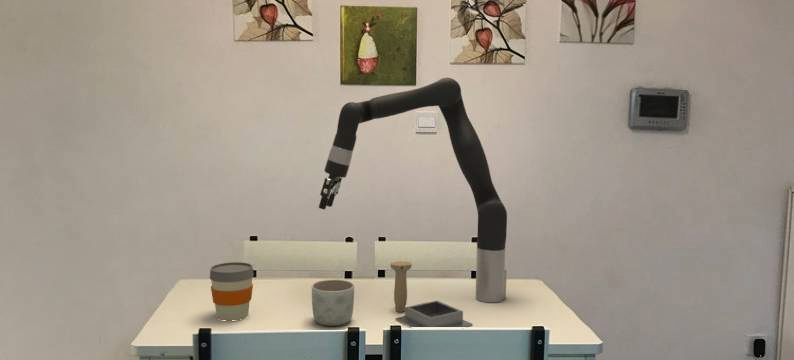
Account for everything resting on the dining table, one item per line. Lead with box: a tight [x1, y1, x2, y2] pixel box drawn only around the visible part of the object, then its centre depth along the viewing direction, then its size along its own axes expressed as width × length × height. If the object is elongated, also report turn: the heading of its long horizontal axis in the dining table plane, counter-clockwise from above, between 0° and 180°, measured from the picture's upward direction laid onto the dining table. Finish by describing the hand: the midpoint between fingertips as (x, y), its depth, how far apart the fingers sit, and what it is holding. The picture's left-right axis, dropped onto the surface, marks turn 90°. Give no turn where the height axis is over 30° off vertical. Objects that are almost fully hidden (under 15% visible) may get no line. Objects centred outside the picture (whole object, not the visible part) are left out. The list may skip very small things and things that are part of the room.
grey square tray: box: [395, 300, 473, 328], centre depth 171 cm, size 16×16×4 cm
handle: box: [390, 261, 412, 313], centre depth 181 cm, size 5×6×15 cm
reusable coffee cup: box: [209, 261, 254, 322], centre depth 174 cm, size 13×13×15 cm
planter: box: [311, 279, 355, 327], centre depth 171 cm, size 12×12×11 cm
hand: (325, 207), depth 196 cm, fingers open, 8 cm apart
